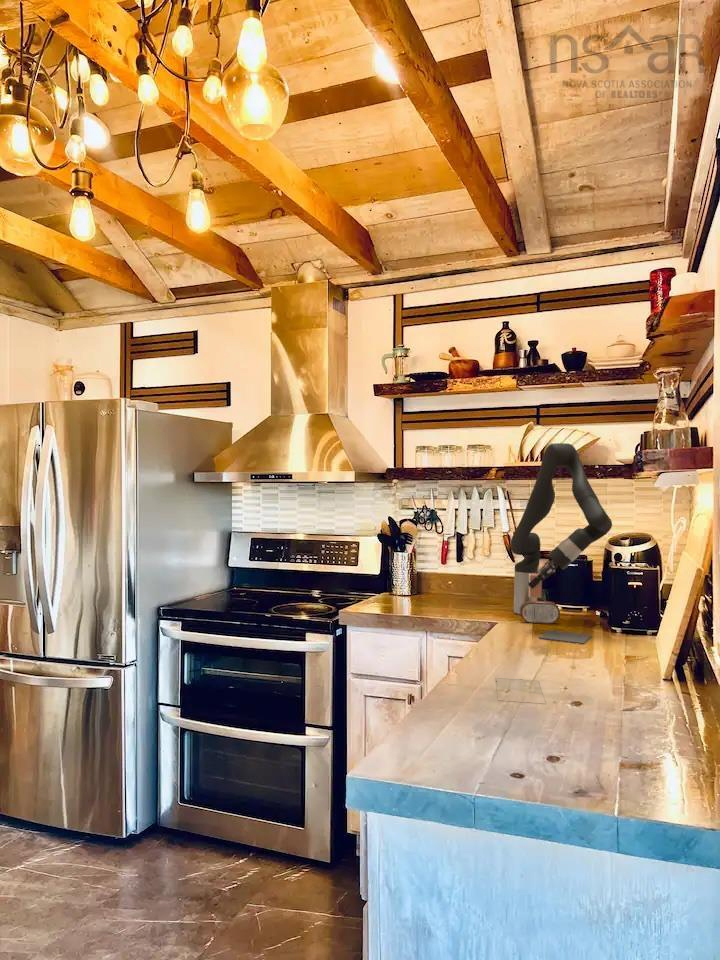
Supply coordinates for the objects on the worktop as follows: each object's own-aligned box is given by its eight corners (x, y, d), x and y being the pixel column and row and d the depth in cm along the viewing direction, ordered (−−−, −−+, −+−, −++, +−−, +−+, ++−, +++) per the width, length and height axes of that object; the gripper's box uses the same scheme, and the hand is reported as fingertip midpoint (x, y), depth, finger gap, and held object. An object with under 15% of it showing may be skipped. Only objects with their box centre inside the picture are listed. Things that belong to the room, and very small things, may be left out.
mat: (548, 631, 249) (548, 629, 249) (591, 636, 242) (591, 635, 242) (539, 638, 236) (539, 637, 236) (583, 644, 229) (584, 643, 229)
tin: (558, 623, 264) (559, 601, 264) (560, 624, 261) (561, 602, 261) (519, 621, 266) (519, 599, 266) (520, 623, 262) (520, 601, 262)
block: (528, 596, 249) (529, 574, 249) (541, 596, 248) (541, 574, 248) (529, 597, 246) (529, 575, 246) (541, 597, 245) (541, 575, 245)
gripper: (556, 544, 253) (521, 575, 255) (559, 547, 239) (523, 580, 241) (570, 559, 252) (536, 590, 254) (575, 563, 238) (538, 596, 240)
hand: (530, 585), depth 248 cm, fingers closed on block, 3 cm apart
